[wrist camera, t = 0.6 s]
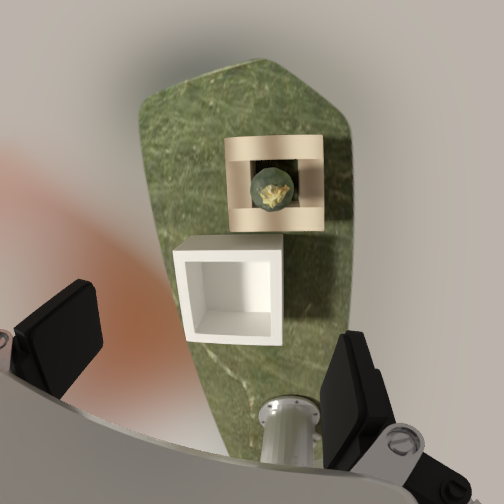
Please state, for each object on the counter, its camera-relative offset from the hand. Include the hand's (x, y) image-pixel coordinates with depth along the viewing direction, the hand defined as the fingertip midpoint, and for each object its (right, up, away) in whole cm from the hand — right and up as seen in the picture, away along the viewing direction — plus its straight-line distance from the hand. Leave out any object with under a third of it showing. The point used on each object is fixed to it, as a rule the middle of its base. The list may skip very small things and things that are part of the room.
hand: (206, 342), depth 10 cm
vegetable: (+5, +13, +32) cm, 35 cm away
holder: (+5, +13, +32) cm, 35 cm away
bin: (-1, -1, +37) cm, 37 cm away
